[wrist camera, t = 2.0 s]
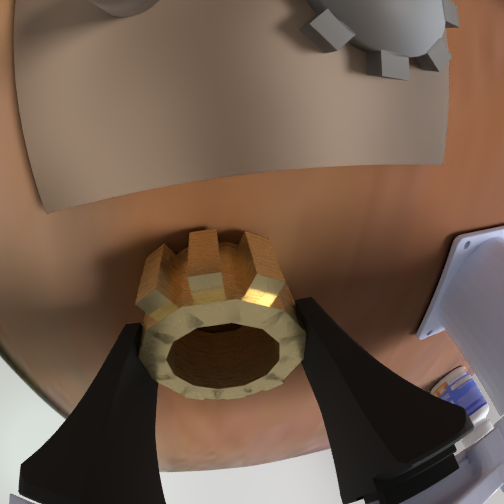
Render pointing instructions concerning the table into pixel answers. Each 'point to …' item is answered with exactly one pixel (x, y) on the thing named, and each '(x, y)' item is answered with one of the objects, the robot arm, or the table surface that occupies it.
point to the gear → (218, 318)
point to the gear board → (225, 89)
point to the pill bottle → (465, 401)
